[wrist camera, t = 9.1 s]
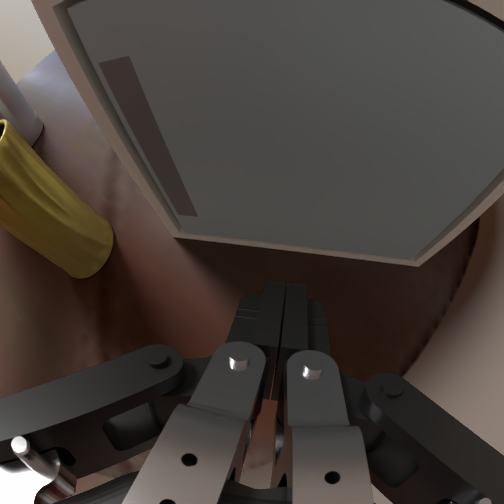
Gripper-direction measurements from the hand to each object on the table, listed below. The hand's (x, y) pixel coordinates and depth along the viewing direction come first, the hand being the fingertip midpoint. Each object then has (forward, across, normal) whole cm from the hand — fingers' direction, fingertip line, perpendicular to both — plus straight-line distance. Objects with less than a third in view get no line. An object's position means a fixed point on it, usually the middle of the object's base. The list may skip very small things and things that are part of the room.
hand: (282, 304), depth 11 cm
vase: (+10, +17, +4) cm, 20 cm away
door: (+10, -1, +1) cm, 11 cm away
